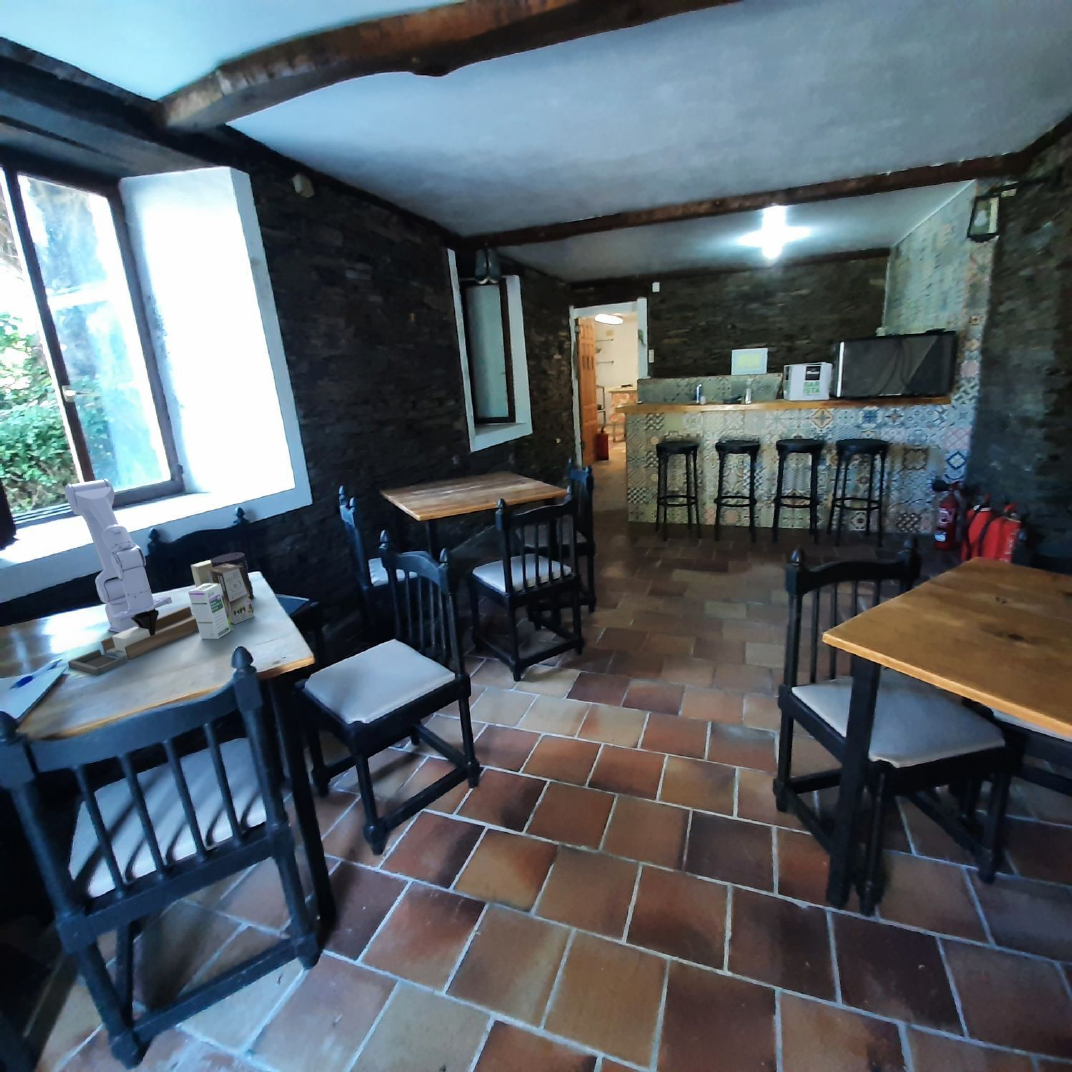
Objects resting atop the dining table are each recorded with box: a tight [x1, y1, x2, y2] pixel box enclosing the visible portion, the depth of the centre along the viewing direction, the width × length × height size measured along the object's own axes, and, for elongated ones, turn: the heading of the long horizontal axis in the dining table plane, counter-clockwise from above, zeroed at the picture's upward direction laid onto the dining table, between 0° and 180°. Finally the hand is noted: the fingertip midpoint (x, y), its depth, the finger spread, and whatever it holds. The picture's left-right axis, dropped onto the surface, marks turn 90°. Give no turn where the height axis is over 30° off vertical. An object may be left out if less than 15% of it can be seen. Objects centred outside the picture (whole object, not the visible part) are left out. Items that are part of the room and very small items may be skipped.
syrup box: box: [187, 583, 234, 640], centre depth 153 cm, size 6×6×14 cm
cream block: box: [111, 627, 150, 652], centre depth 149 cm, size 6×6×4 cm
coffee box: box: [207, 563, 255, 625], centre depth 163 cm, size 9×6×16 cm
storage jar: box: [210, 551, 255, 601], centre depth 178 cm, size 10×10×15 cm
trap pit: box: [67, 648, 128, 676], centre depth 142 cm, size 13×7×2 cm, turn 64°
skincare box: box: [190, 559, 212, 588], centre depth 182 cm, size 6×4×12 cm
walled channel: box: [100, 605, 199, 661], centre depth 156 cm, size 12×24×4 cm, turn 154°
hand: (150, 636), depth 153 cm, fingers closed
